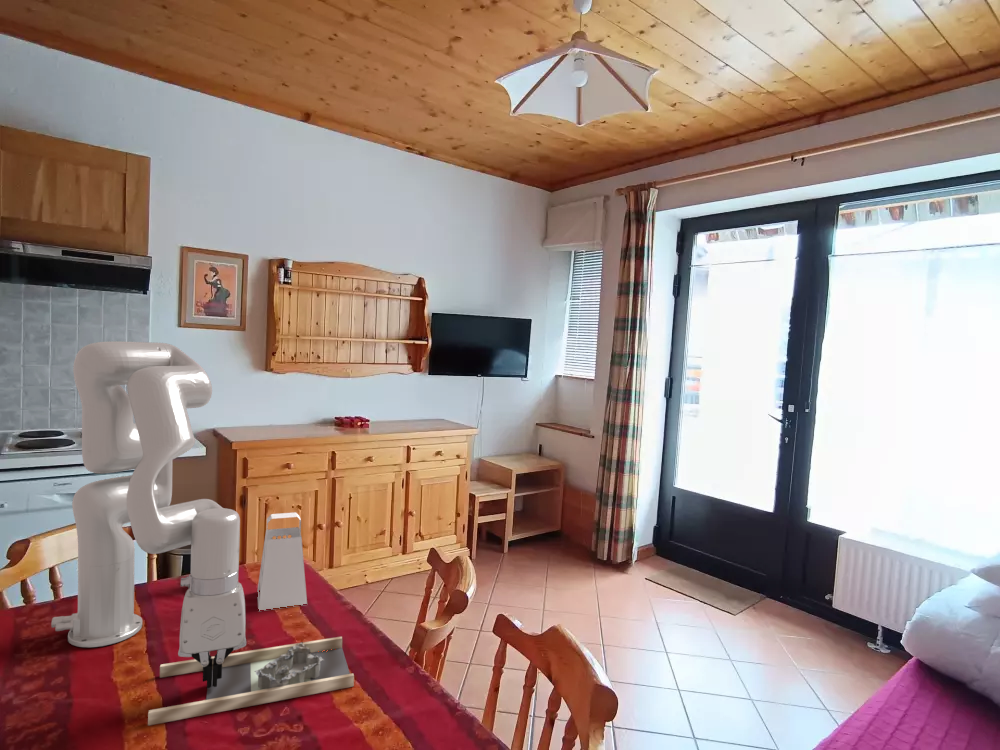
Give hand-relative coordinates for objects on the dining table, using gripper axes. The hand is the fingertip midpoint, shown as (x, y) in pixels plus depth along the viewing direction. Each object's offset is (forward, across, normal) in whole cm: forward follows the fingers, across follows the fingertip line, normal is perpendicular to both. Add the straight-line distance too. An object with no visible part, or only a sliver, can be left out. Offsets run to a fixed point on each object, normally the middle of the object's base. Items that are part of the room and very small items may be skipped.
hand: (212, 682), depth 102 cm
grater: (+1, +14, +33) cm, 36 cm away
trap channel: (+1, +7, 0) cm, 7 cm away
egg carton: (+1, +13, -2) cm, 13 cm away
